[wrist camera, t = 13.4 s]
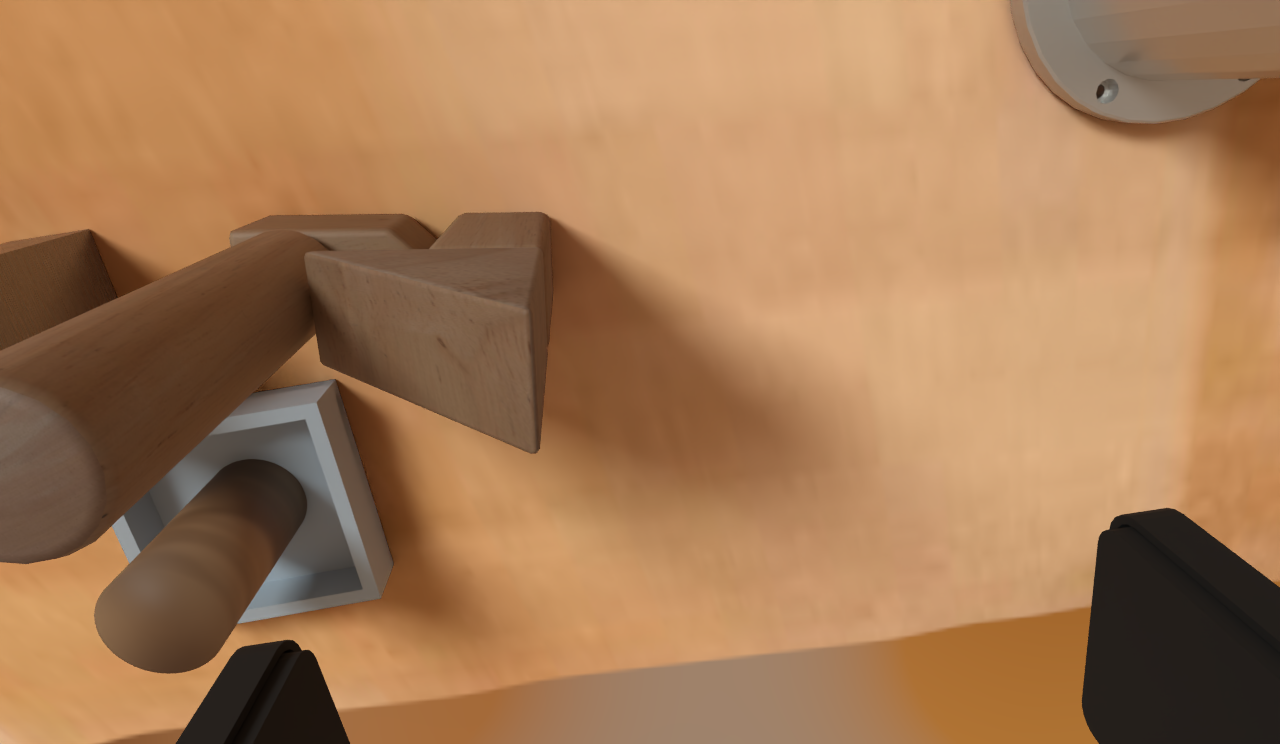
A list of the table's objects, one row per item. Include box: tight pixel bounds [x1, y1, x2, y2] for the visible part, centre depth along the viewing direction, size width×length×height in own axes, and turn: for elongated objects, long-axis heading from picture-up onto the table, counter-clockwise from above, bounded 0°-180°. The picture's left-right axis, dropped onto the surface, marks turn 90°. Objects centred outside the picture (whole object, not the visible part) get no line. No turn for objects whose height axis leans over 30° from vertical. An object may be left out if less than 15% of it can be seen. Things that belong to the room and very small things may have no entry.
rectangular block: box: [0, 229, 117, 351], centre depth 25 cm, size 3×6×8 cm, turn 8°
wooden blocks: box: [0, 212, 553, 564], centre depth 21 cm, size 4×11×18 cm, turn 90°
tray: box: [112, 379, 394, 624], centre depth 31 cm, size 9×9×2 cm
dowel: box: [94, 459, 307, 673], centre depth 28 cm, size 4×4×8 cm
